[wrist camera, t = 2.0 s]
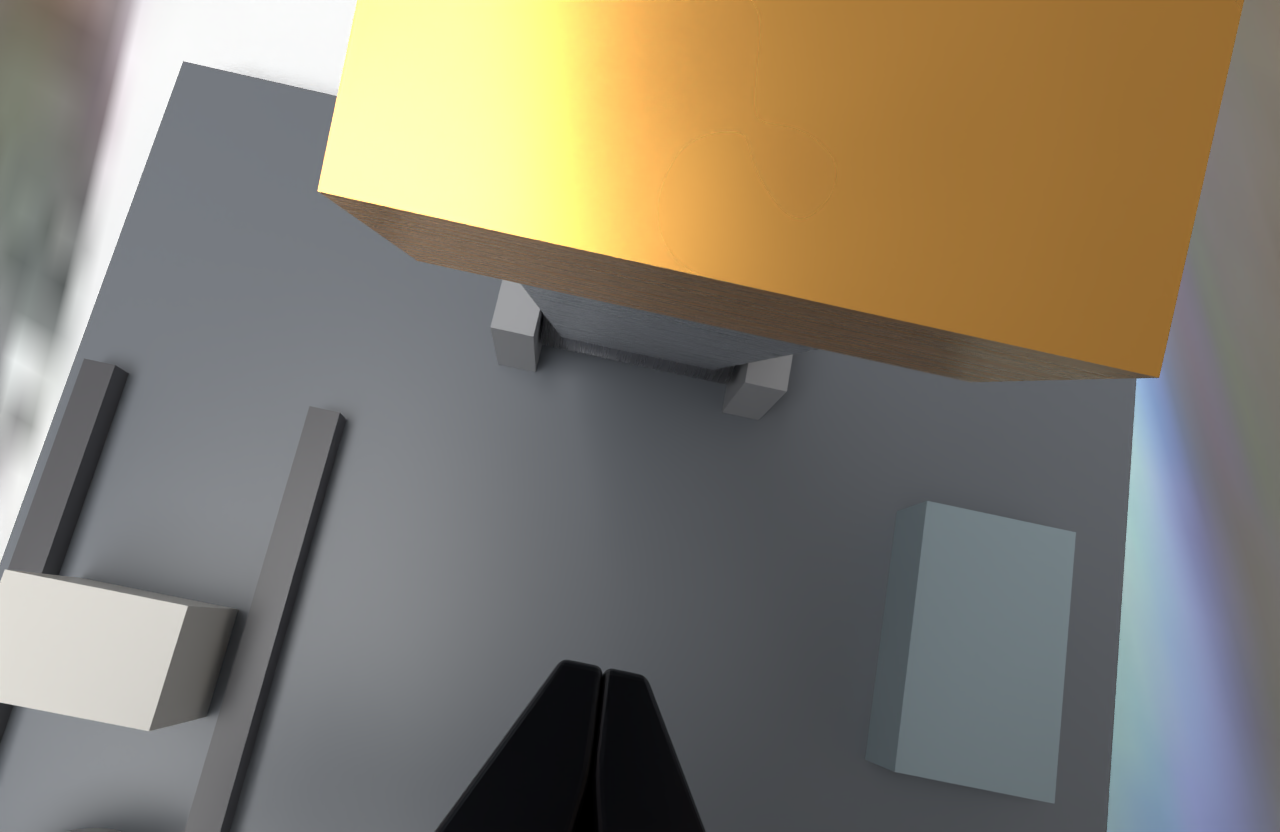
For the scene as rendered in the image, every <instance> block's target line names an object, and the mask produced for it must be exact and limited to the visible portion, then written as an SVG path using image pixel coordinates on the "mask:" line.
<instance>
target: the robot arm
mask: <svg viewBox="0 0 1280 832" xmlns="http://www.w3.org/2000/svg"><path fill="white" fill-rule="evenodd" d="M435 832H706V830H705V828H704V825H703V822H702V820H701V817H700V815H699V812H698V809H697V807H696V804H695V801H694V799H693V796H692V794H691V791H690V788H689V786H688V783H687V780H686V778H685V775H684V772H683V770H682V767H681V765H680V762H679V759H678V757H677V754H676V751H675V749H674V746H673V744H672V741H671V738H670V736H669V733H668V730H667V728H666V725H665V722H664V720H663V717H662V715H661V712H660V709H659V707H658V704H657V701H656V699H655V696H654V694H653V691H652V688H651V686H650V683H649V681H648V680H647V678H646V677H645V676H643V675H641V674H637V673H632V672H627V671H622V670H617V669H607V670H606V671H605V672H604V673H603V675H602V670H601V668H600V667H599V666H596V665H592V664H587V663H582V662H577V661H572V660H562V661H561V662H559V663H558V664H557V665H556V667H555V668H554V669H553V671H552V672H551V673H550V675H549V676H548V677H547V679H546V680H545V682H544V683H543V684H542V686H541V687H540V688H539V690H538V691H537V692H536V694H535V695H534V697H533V698H532V699H531V701H530V702H529V703H528V705H527V706H526V707H525V709H524V710H523V712H522V713H521V714H520V716H519V717H518V718H517V720H516V721H515V722H514V724H513V725H512V727H511V728H510V729H509V731H508V732H507V733H506V735H505V736H504V737H503V739H502V740H501V742H500V743H499V744H498V746H497V747H496V748H495V750H494V751H493V752H492V754H491V755H490V757H489V758H488V759H487V761H486V762H485V763H484V765H483V766H482V768H481V769H480V770H479V772H478V773H477V774H476V776H475V777H474V778H473V780H472V781H471V783H470V784H469V785H468V787H467V788H466V789H465V791H464V792H463V793H462V795H461V796H460V798H459V799H458V800H457V802H456V803H455V804H454V806H453V807H452V808H451V810H450V811H449V813H448V814H447V815H446V817H445V818H444V819H443V821H442V822H441V823H440V825H439V826H438V828H437V829H436V830H435Z"/></svg>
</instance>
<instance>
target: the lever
mask: <svg viewBox="0 0 1280 832" xmlns="http://www.w3.org/2000/svg"><path fill="white" fill-rule="evenodd" d="M1243 3H1244V0H357V4H356V9H355V13H354V18H353V23H352V28H351V33H350V38H349V42H348V47H347V52H346V57H345V62H344V66H343V71H342V76H341V81H340V86H339V91H338V95H337V100H336V105H335V110H334V115H333V119H332V124H331V129H330V134H329V139H328V144H327V148H326V153H325V158H324V163H323V168H322V172H321V177H320V182H319V187H318V192H320V193H321V194H322V195H324V196H325V197H327V198H328V199H330V200H331V201H332V202H334V203H335V204H337V205H338V206H340V207H341V208H342V209H344V210H345V211H347V212H348V213H350V214H351V215H352V216H354V217H355V218H357V219H358V220H360V221H361V222H362V223H364V224H365V225H367V226H368V227H370V228H371V229H372V230H374V231H375V232H377V233H378V234H380V235H381V236H382V237H384V238H385V239H387V240H388V241H390V242H391V243H392V244H394V245H395V246H397V247H398V248H400V249H401V250H402V251H404V252H405V253H407V254H408V255H410V256H411V257H412V258H414V259H415V260H417V261H420V262H425V263H429V264H434V265H438V266H443V267H447V268H452V269H456V270H461V271H466V272H470V273H475V274H479V275H484V276H488V277H493V278H498V279H502V280H507V281H511V282H516V283H520V284H521V285H522V287H523V288H524V289H525V290H526V292H527V293H528V294H529V296H530V297H531V298H532V299H533V301H534V302H535V303H536V305H537V306H538V307H539V309H540V310H541V311H542V312H543V314H544V319H543V325H542V332H541V345H546V346H551V347H555V348H560V349H564V350H569V351H574V352H578V353H583V354H588V355H592V356H597V357H601V358H606V359H611V360H615V361H620V362H625V363H629V364H634V365H638V366H643V367H648V368H652V369H657V370H661V371H666V372H671V373H675V374H680V375H685V376H689V377H694V378H698V379H703V380H708V381H712V382H717V383H722V384H728V382H729V381H730V379H731V376H732V374H733V371H734V368H735V366H736V365H741V364H746V363H751V362H756V361H761V360H766V359H772V358H777V357H782V356H787V355H792V354H797V353H802V352H808V351H813V350H818V349H821V350H826V351H830V352H835V353H839V354H844V355H849V356H853V357H858V358H862V359H867V360H871V361H876V362H881V363H885V364H890V365H894V366H899V367H903V368H908V369H912V370H917V371H922V372H926V373H931V374H935V375H940V376H944V377H949V378H953V379H958V380H963V381H967V382H1002V381H1043V380H1084V379H1125V378H1159V376H1160V371H1161V367H1162V362H1163V358H1164V353H1165V349H1166V345H1167V340H1168V336H1169V331H1170V327H1171V322H1172V318H1173V313H1174V309H1175V305H1176V300H1177V296H1178V291H1179V287H1180V282H1181V278H1182V273H1183V269H1184V265H1185V260H1186V256H1187V251H1188V247H1189V242H1190V238H1191V234H1192V229H1193V225H1194V220H1195V216H1196V211H1197V207H1198V202H1199V198H1200V194H1201V189H1202V185H1203V180H1204V176H1205V171H1206V167H1207V162H1208V158H1209V154H1210V149H1211V145H1212V140H1213V136H1214V131H1215V127H1216V122H1217V118H1218V114H1219V109H1220V105H1221V100H1222V96H1223V91H1224V87H1225V82H1226V78H1227V74H1228V69H1229V65H1230V60H1231V56H1232V51H1233V47H1234V43H1235V38H1236V34H1237V29H1238V25H1239V20H1240V16H1241V11H1242V7H1243Z"/></svg>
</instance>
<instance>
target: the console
mask: <svg viewBox="0 0 1280 832" xmlns="http://www.w3.org/2000/svg"><path fill="white" fill-rule="evenodd" d="M336 100H337V96H334V95H329V94H325V93H320V92H316V91H312V90H307V89H303V88H298V87H294V86H290V85H285V84H281V83H276V82H272V81H267V80H263V79H259V78H254V77H250V76H245V75H241V74H237V73H232V72H228V71H223V70H219V69H214V68H210V67H206V66H201V65H197V64H192V63H188V62H184V61H183V64H182V66H181V69H180V72H179V75H178V77H177V80H176V83H175V86H174V88H173V91H172V94H171V97H170V99H169V102H168V105H167V108H166V110H165V113H164V116H163V119H162V121H161V124H160V127H159V130H158V132H157V135H156V138H155V140H154V143H153V146H152V149H151V151H150V154H149V157H148V160H147V162H146V165H145V168H144V171H143V173H142V176H141V179H140V182H139V184H138V187H137V190H136V193H135V195H134V198H133V201H132V204H131V206H130V209H129V212H128V215H127V217H126V220H125V223H124V226H123V228H122V231H121V234H120V237H119V239H118V242H117V245H116V248H115V250H114V253H113V256H112V258H111V261H110V264H109V267H108V269H107V272H106V275H105V278H104V280H103V283H102V286H101V289H100V291H99V294H98V297H97V300H96V302H95V305H94V308H93V311H92V313H91V316H90V319H89V322H88V324H87V327H86V330H85V333H84V335H83V338H82V341H81V344H80V346H79V349H78V352H77V355H76V357H75V360H74V363H73V366H72V368H71V371H70V374H69V376H68V379H67V382H66V385H65V387H64V390H63V393H62V396H61V398H60V401H59V404H58V407H57V409H56V412H55V415H54V418H53V420H52V423H51V426H50V429H49V431H48V434H47V437H46V440H45V442H44V445H43V448H42V451H41V453H40V456H39V459H38V462H37V464H36V467H35V470H34V473H33V475H32V478H31V481H30V484H29V486H28V489H27V492H26V494H25V497H24V500H23V503H22V505H21V508H20V511H19V514H18V516H17V519H16V522H15V525H14V527H13V530H12V533H11V536H10V538H9V541H8V544H7V547H6V549H5V552H4V555H3V558H2V560H1V563H0V581H1V578H2V576H3V573H4V570H5V569H6V570H15V571H24V572H33V573H42V574H51V575H60V576H69V577H78V578H84V579H89V580H94V581H99V582H104V583H109V584H114V585H119V586H124V587H129V588H134V589H139V590H144V591H149V592H154V593H159V594H164V595H169V596H174V597H179V598H184V599H189V600H194V601H199V602H204V603H209V604H214V605H219V606H224V607H229V608H234V609H238V612H237V615H236V619H235V622H234V625H233V629H232V632H231V635H230V639H229V642H228V645H227V649H226V652H225V655H224V659H223V662H222V666H221V669H220V672H219V676H218V679H217V682H216V686H215V689H214V692H213V696H212V699H211V703H210V706H209V709H208V713H207V716H206V717H204V718H200V719H196V720H192V721H188V722H184V723H180V724H176V725H172V726H168V727H164V728H160V729H156V730H152V731H145V730H140V729H135V728H129V727H124V726H119V725H114V724H109V723H104V722H98V721H93V720H88V719H83V718H78V717H73V716H67V715H62V714H57V713H52V712H47V711H42V710H36V709H31V708H26V707H21V706H16V705H11V704H5V703H0V832H435V830H436V829H437V828H438V826H439V825H440V823H441V822H442V821H443V819H444V818H445V817H446V815H447V814H448V813H449V811H450V810H451V808H452V807H453V806H454V804H455V803H456V802H457V800H458V799H459V798H460V796H461V795H462V793H463V792H464V791H465V789H466V788H467V787H468V785H469V784H470V783H471V781H472V780H473V778H474V777H475V776H476V774H477V773H478V772H479V770H480V769H481V768H482V766H483V765H484V763H485V762H486V761H487V759H488V758H489V757H490V755H491V754H492V752H493V751H494V750H495V748H496V747H497V746H498V744H499V743H500V742H501V740H502V739H503V737H504V736H505V735H506V733H507V732H508V731H509V729H510V728H511V727H512V725H513V724H514V722H515V721H516V720H517V718H518V717H519V716H520V714H521V713H522V712H523V710H524V709H525V707H526V706H527V705H528V703H529V702H530V701H531V699H532V698H533V697H534V695H535V694H536V692H537V691H538V690H539V688H540V687H541V686H542V684H543V683H544V682H545V680H546V679H547V677H548V676H549V675H550V673H551V672H552V671H553V669H554V668H555V667H556V665H557V664H558V663H559V662H561V661H562V660H572V661H577V662H582V663H587V664H592V665H596V666H599V667H600V668H601V670H602V675H603V673H604V672H605V671H606V670H607V669H617V670H622V671H627V672H632V673H637V674H641V675H643V676H645V677H646V678H647V680H648V681H649V683H650V686H651V688H652V691H653V694H654V696H655V699H656V701H657V704H658V707H659V709H660V712H661V715H662V717H663V720H664V722H665V725H666V728H667V730H668V733H669V736H670V738H671V741H672V744H673V746H674V749H675V751H676V754H677V757H678V759H679V762H680V765H681V767H682V770H683V772H684V775H685V778H686V780H687V783H688V786H689V788H690V791H691V794H692V796H693V799H694V801H695V804H696V807H697V809H698V812H699V815H700V817H701V820H702V822H703V825H704V828H705V830H706V832H1106V830H1107V815H1108V800H1109V785H1110V770H1111V754H1112V739H1113V724H1114V709H1115V694H1116V679H1117V663H1118V648H1119V633H1120V618H1121V603H1122V587H1123V572H1124V557H1125V542H1126V527H1127V512H1128V496H1129V481H1130V466H1131V451H1132V436H1133V421H1134V405H1135V390H1136V378H1125V379H1084V380H1043V381H1002V382H967V381H963V380H958V379H953V378H949V377H944V376H940V375H935V374H931V373H926V372H922V371H917V370H912V369H908V368H903V367H899V366H894V365H890V364H885V363H881V362H876V361H871V360H867V359H862V358H858V357H853V356H849V355H844V354H839V353H835V352H830V351H826V350H821V349H818V350H813V351H808V352H802V353H797V354H792V355H787V356H782V357H777V358H772V359H766V360H761V361H756V362H751V363H746V364H741V365H736V366H735V368H734V371H733V374H732V376H731V379H730V381H729V382H728V384H722V383H717V382H712V381H708V380H703V379H698V378H694V377H689V376H685V375H680V374H675V373H671V372H666V371H661V370H657V369H652V368H648V367H643V366H638V365H634V364H629V363H625V362H620V361H615V360H611V359H606V358H601V357H597V356H592V355H588V354H583V353H578V352H574V351H569V350H564V349H560V348H555V347H551V346H546V345H541V332H542V325H543V319H544V314H543V312H542V311H541V310H540V309H539V307H538V306H537V305H536V303H535V302H534V301H533V299H532V298H531V297H530V296H529V294H528V293H527V292H526V290H525V289H524V288H523V287H522V285H521V284H520V283H516V282H511V281H507V280H502V279H498V278H493V277H488V276H484V275H479V274H475V273H470V272H466V271H461V270H456V269H452V268H447V267H443V266H438V265H434V264H429V263H425V262H420V261H417V260H415V259H414V258H412V257H411V256H410V255H408V254H407V253H405V252H404V251H402V250H401V249H400V248H398V247H397V246H395V245H394V244H392V243H391V242H390V241H388V240H387V239H385V238H384V237H382V236H381V235H380V234H378V233H377V232H375V231H374V230H372V229H371V228H370V227H368V226H367V225H365V224H364V223H362V222H361V221H360V220H358V219H357V218H355V217H354V216H352V215H351V214H350V213H348V212H347V211H345V210H344V209H342V208H341V207H340V206H338V205H337V204H335V203H334V202H332V201H331V200H330V199H328V198H327V197H325V196H324V195H322V194H321V193H320V192H318V187H319V182H320V177H321V172H322V168H323V163H324V158H325V153H326V148H327V144H328V139H329V134H330V129H331V124H332V119H333V115H334V110H335V105H336Z"/></svg>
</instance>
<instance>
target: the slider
mask: <svg viewBox="0 0 1280 832" xmlns="http://www.w3.org/2000/svg"><path fill="white" fill-rule="evenodd" d="M237 612H238V609H234V608H229V607H224V606H219V605H214V604H209V603H204V602H199V601H194V600H189V599H184V598H179V597H174V596H169V595H164V594H159V593H154V592H149V591H144V590H139V589H134V588H129V587H124V586H119V585H114V584H109V583H104V582H99V581H94V580H89V579H84V578H78V577H69V576H60V575H51V574H42V573H33V572H24V571H15V570H6V569H5V570H4V573H3V576H2V578H1V581H0V703H5V704H11V705H16V706H21V707H26V708H31V709H36V710H42V711H47V712H52V713H57V714H62V715H67V716H73V717H78V718H83V719H88V720H93V721H98V722H104V723H109V724H114V725H119V726H124V727H129V728H135V729H140V730H145V731H152V730H156V729H160V728H164V727H168V726H172V725H176V724H180V723H184V722H188V721H192V720H196V719H200V718H204V717H206V716H207V713H208V709H209V706H210V703H211V699H212V696H213V692H214V689H215V686H216V682H217V679H218V676H219V672H220V669H221V666H222V662H223V659H224V655H225V652H226V649H227V645H228V642H229V639H230V635H231V632H232V629H233V625H234V622H235V619H236V615H237Z"/></svg>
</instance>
